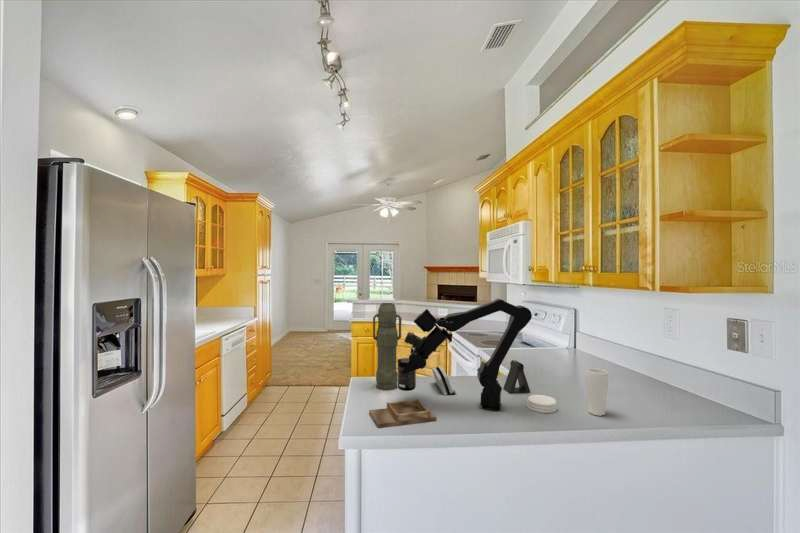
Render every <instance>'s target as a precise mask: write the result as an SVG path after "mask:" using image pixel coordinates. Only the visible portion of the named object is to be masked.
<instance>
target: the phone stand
mask: <svg viewBox="0 0 800 533" xmlns="http://www.w3.org/2000/svg"><path fill="white" fill-rule="evenodd" d="M509 365H510V367H509V371H508V374H507V377H506V378H505V383H504V385H503V387H502V390H504V391H505V392H507V393H508V394H510V395H514V394H530V393H531V389H530V387H529V383H528V379H527V377H526V375H525V371H524V368H525V367H524V364H523V363H521V362H520V361H517V360H515V359H514V360H513V359H512V360H511V361H510V363H509ZM517 382H518V387H516V386H517Z"/></svg>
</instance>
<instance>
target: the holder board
mask: <svg viewBox="0 0 800 533" xmlns="http://www.w3.org/2000/svg"><path fill="white" fill-rule="evenodd" d="M368 414H369V415H370V417H371V419H372V421H373V423H374V424H375V426H376V427H377V428H378V429H382V428H388V427H396V426H397V427H399V426H404V425H411V424H421V423H429V422H437V419H438V418H437V416H436V414H434V413H433V412H432V411H431V410H430V409H429V408H428V407H427V406H426V405H425V404H423V402H421V401H420V399H412V400H403V401H401V400H400V401H392V402H391V401H390V402H386V408H377V409H369V410H368Z"/></svg>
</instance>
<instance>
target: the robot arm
mask: <svg viewBox="0 0 800 533" xmlns="http://www.w3.org/2000/svg"><path fill="white" fill-rule="evenodd" d="M496 312H503V313H505V314H508V315H510V316H509V319H508V324H507V327H506V329H505V330H504V332H503V334H502V336H501V338H500V340H499V341H498V343H497V345H496V347H495V349H494V350H493V352H492V354H491V356H490V358H489V359H488V360H487V361H486V362H485V361H484V360H482V361H481V363H480V366H479V367H478V368H477V369H476V371H477V375H476V376H477V379H478V381H479V384H480V385H481V387H483V388H482V390H481V393H480V405H481V406H480V408H481V409H484V410H493V411H498V412H499V411H500V410H501V408H502V406H503V405H502V391H503V387H502V386H501V384H500V382H499V381H498V376H499V372H500V367H501V365H502V363H503V362H504V360H505V358H506V356H507V354H508V352H509V351H510V349H511V346H512V345H513V343H514V342H515V339H517V336H518V335H519V333H520V331H522V330H523V329H524V328H525V327H526V326H527V325H528V324H529V322H530V321H531V320H532V317H533V314H532V312H531V310H530V309H529V308H528V307H526V306H523V305H514V304H511V303H510V302H508V301H505V300H503V299H501V298H496V299H494V300H492V301H490V302H487V303H485V304H482V305H479V306H477V307H474V308H471V309H469V310H466V311H459V312H453V313H449V314H446V315H445V316H444V317H437V318H436V317H435V316H434V315H433V314H432V313H431V311H430V310H429V309H428V308H425V310H424V311H422V312H421V313H419V314H418V315H417V316H416V317H415V319H414V320H413V323H414V324H415V325H416V326H418V328H420V330H421V331H422V332H423V333H426V332H427V333H428V334H427V335H425V336H424V335H423V337H420V336H418V335H416V334H414V333H413V332H410V331H409V332H408V331H407V334H406V336H405V338H404V343H406V344H409V345H411V348H410V354H409V356H408V358H409V362H408V363H407V365H406V366H405V367H404V369H403V370H402V374H406V373H408V372H411V371H414V370H416V371H417V370H419V369H420V370H423V369H424V368H425V367H426V366H427V360H428V359H429V358H430V356H431V354H433V353H435V352H436V351H437V350H438V348H439V347H440V346H441V345H442V344H443V343H444V342H445V341H446V340H448V341H449V342H451V343H452V342H453V333H454V332H457V331H458V330H460V329H462V328H463V327H465V326H466V325H468V324H469V323H471V322H474V321H476V320H478V319H481V318H484V317H486V316H490V315H491V314H495V313H496ZM433 328H434V329H433Z"/></svg>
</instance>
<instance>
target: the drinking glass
mask: <svg viewBox="0 0 800 533" xmlns="http://www.w3.org/2000/svg"><path fill="white" fill-rule="evenodd" d="M608 386H609V372H608V371H607V370H606V369H604V368H603V369H602V368H597V367H594V368H593V367H589V368H587V369H586V391H587V392H586V393H587V394H586V395H587V410H588V413H589V414H590V415H594V416H597V417H599V416H600V417H601V416H602V415H603V416H605V415H606V406H607V397H608Z"/></svg>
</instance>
